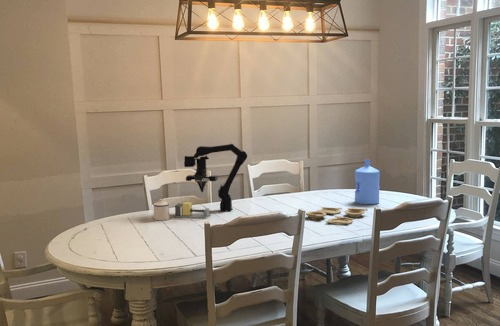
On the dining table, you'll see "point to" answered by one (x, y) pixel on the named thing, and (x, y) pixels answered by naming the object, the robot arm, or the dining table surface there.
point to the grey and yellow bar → (180, 211)
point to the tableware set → (338, 220)
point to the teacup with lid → (161, 210)
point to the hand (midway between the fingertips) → (202, 192)
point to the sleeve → (187, 208)
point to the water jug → (367, 184)
